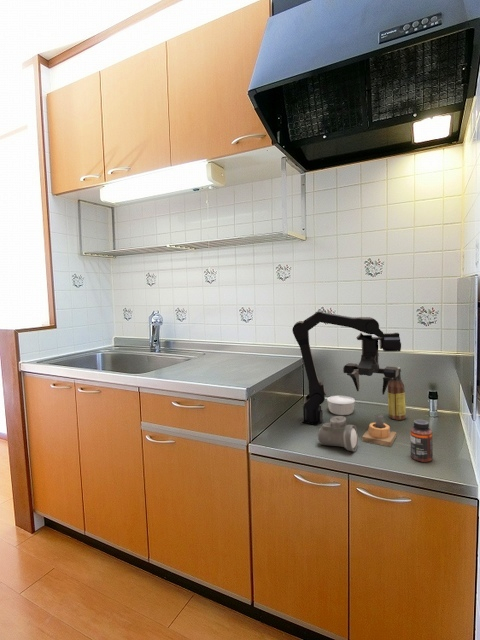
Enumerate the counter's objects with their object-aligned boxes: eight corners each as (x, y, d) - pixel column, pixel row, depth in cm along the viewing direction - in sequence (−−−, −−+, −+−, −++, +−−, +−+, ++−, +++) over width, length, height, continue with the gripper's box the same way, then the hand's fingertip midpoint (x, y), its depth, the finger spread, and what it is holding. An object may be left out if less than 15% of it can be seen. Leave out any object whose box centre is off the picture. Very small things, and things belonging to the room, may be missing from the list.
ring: (367, 435, 122) (367, 427, 122) (372, 429, 128) (372, 421, 127) (386, 439, 119) (386, 430, 119) (390, 432, 124) (390, 424, 124)
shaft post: (362, 440, 122) (362, 417, 121) (369, 431, 130) (369, 409, 129) (390, 446, 117) (390, 422, 116) (396, 436, 124) (396, 414, 124)
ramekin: (358, 409, 153) (358, 397, 152) (351, 418, 143) (350, 405, 143) (332, 405, 159) (332, 394, 158) (323, 413, 149) (323, 401, 149)
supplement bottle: (429, 454, 111) (429, 418, 110) (435, 463, 105) (435, 425, 104) (408, 453, 112) (408, 417, 111) (413, 462, 107) (413, 425, 106)
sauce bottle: (406, 416, 142) (406, 366, 141) (404, 421, 137) (404, 370, 135) (389, 413, 146) (389, 365, 144) (386, 418, 141) (385, 368, 139)
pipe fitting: (361, 444, 119) (356, 414, 118) (353, 456, 112) (348, 424, 111) (326, 440, 126) (321, 412, 125) (317, 452, 119) (312, 422, 118)
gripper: (338, 353, 133) (338, 395, 134) (392, 357, 122) (392, 402, 124) (347, 348, 142) (348, 387, 143) (398, 351, 131) (398, 393, 133)
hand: (370, 392), depth 135 cm, fingers open, 9 cm apart
